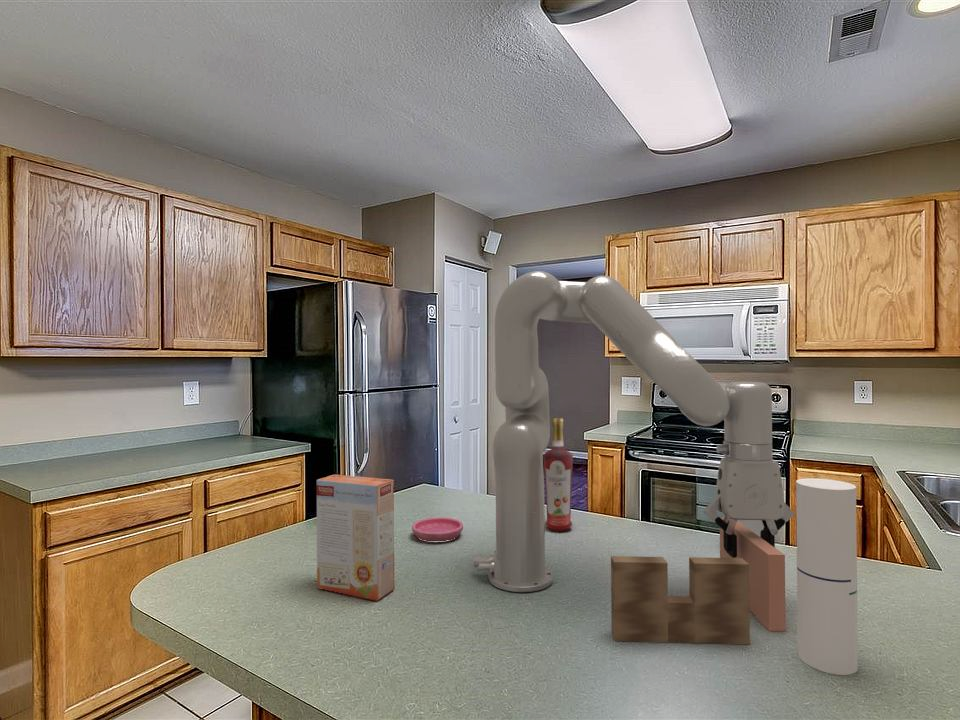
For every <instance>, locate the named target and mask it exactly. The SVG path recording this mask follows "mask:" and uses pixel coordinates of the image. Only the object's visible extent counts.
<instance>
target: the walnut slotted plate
mask: <svg viewBox="0 0 960 720" xmlns="http://www.w3.org/2000/svg"><path fill="white" fill-rule="evenodd" d="M688 566H689V567H688V569H689V570H688V571H689V572H688V575H689V576H688V579H689V580H688V581H689V582H688V585H689V587H688V588H689V589H688V591H689V594H688V595H669V594H668V593H669V591H668V590H669V588H668V579H669V578H668V569H669V568H668V562H667V560H666V559H665V558H664V556H631V555H630V556H628V555H627V556H624V555H622V556H621V555H611V556H610V593H611V594H610V597H611V598H610V599H611V601H610V602H611V604H610V606H611V607H610V608H611V609H610V611H611V614H610V616H611V618H610V620H611V635H612V638H613V640H614V642H638V643H639V642H640V643H641V642H642V643H645V642H646V643H673V644H674V643H675V644H676V643H678V644H680V643H681V644H683V643H684V644H716V645H717V644H718V645H750V644H751V629H750V628H751V627H750V626H751V622H750V621H751V620H750V619H751V618H750V617H751V615H750V612H751V611H750V599H749V564H748V563H747V562H746V561H745V560H744V559H742V558H720V557H696V556H695V557H693V556H691V557H690V556H689V558H688Z"/></svg>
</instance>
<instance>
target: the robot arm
mask: <svg viewBox="0 0 960 720" xmlns="http://www.w3.org/2000/svg"><path fill="white" fill-rule="evenodd" d="M540 320H542V321H543V320H545V321H554V322H555V321H556V322H569V323H581V324H582V323H585V324H594V325H595V326H596V328H597V329H599V330H600V332H602V334H604V336H605V337H607V338H608V340H609V341H610V342H611V343H612V344H613V345H614V346H615V347H616V348H617V349H618V350H619V351H620V353H621V354H622V355H623V356H624V357H626V359H627V360H628V361H630V363H631V364H632V365H633V366H634V367H635V368H637V369H638V370H640V371H641V372H643V373H644V374H645V375H646V376H647V377H648V378H649V379H650V380H651V381H652V382H653V383H655V385H656V386H657V387H658V388H659V389H660V390H661V391H662V392H663V393H664V394H665V395H666V396H667V397H668V398H669V399H670V400H671V401H672V402H673V403H674V404H675V406H677V407H678V409H679V410H680V412H681V413H682V414H683V415H684V416H685V417H686V418H687V419H688V420H689V421H691V422H692V423H694V424H696V425H699V426H703V427H711V426H712V427H713V426H714V425H718V424H719V423H721V422H722V421H723V422H724V423H723V424H724V425H723V433H724V434H723V436H724V437H723V439H724V440H722V441H723V442H722V444H721V445H716V452H717V454H723V456H724V457H721V458H720V463H719V467H718V472H717V478H716V490H715V491H716V493H715V497H714V498H713V499H712V501H710V503H709V504H708V505H707V506H706V507H705V508H704V510H703V513H704V514H705V515H706V516H707V517H709V519H711V521H713V522H714V523H715V524H716V525H717V526H718V528H719V529H720V528H721V529H722V530H723V538H724V549H725V551H726V552H727V553H728V554H729V555H730V556H731V557H732V558H736V557H737V536H736V535H735V534H734V529H735V526H736V523H737V520H761V522H762V525H763V527H764V528H763V530H761V532H760V537H761V538H762V539H763V540H765V541H766V542H768V543H769V544H770V545H772V546H773V547H775V548H776V543H775V542H776V539H775V536H777V535H778V533H779V530H781V529H782V527H784V526H785V525H786V523H787V522H789V521H790V520H791V519H792V518H793V517H795V512H794V511H793V510H792V509H791V508H790V506H789V505H788V504H786V502H785V498H784V497H785V496H784V487H783V481H782V475H781V471H780V466H779V465H780V464H779V462H778V460H774V459H773V404H772V403H773V399H772V398H773V396H772V388H771V386H769V384H767V382H761V381H733V382H729V383H728V382H718V381H717V380H716V379H715V378H714V377H713V376H712V375H711V374H710V373H709V372H708V371H707V370H706V369H705V368H704V367H703V366H702V365H701V364H700V363H699V361H697V359H695V358H694V357H693V356H692V355H691V354H690V353H689V352H688V351H687V350H686V349H685V348H683V346H682V345H681V344H680V343H678V341H677V340H676V339H675V338H674V336H673V335H671V334H670V333H669V332H668V331H667V330H666V329H665V328H664V327H663V325H661V323H659V322H658V320H656V319H655V318H654V317H653V316H652V314H650V312H648V311H647V310H646V308H644V306H643V305H642V304H640V302H638V300H637V299H636V298H635V297H634V296H633V295H632V294H631V293H630V292H629V291H628V290H627V289H626V288H625V287H624V286H623V285H622V284H621V283H620V282H619V281H617V280H616V278H613V277H612V276H609V275H597V276H594V277H592V278H590V279H588V280H587V281H572V280H571V281H570V280H569V281H568V280H559V279H557V278H556V277H555V276H554V275H553V274H551V273H550V272H546V271H543V270H535V271H530V272H526V273H525V274H522V275H520V276H518V277H517V278H515V279H514V280H513V281H511V282H510V284H509V285H507V287H506V288H505V289H504V291H503V292H502V293H501V295H500V298H499V299H498V302H497V304H496V309H495V315H494V364H495V365H494V370H495V371H494V372H495V373H494V374H495V382H494V383H495V386H494V387H495V388H494V389H495V394H496V398H497V400H498V402H499V403H500V404H501V405H502V406H503V407H504V412H505V421H504V422H502V424H501V425H500V426H499V427H498V428H497V430H496V432H495V435H494V436H493V441H492V459H493V466H494V467H493V468H494V479H495V481H494V482H495V551H494V554H493V555H492V554H491V555H489V556H481V555H480V556H478V555H477V556H475V555H474V556H473V567H477V568H478V571H488V582H489V583H490V584H491V585H493V586H494V587H496V588H497V589H500V590H504V591H507V592H514V593H532V592H538V591H542V590H545V589H546V588H548V587H550V586H551V585H552V583H553V582H554V574H553V573H554V572H553V571H552V570H551V569H550V568H548V567H547V566H546V540H545V539H546V524H545V522H546V520H545V519H546V517H545V516H546V515H545V511H546V509H545V503H546V501H545V472H544V453H545V451H546V449H547V447H548V446H549V443H550V438H551V419H550V394H549V393H550V392H549V383H548V379H547V376H546V374H545V372H544V370H542V368H540V367H539V366H540V365H539V364H540V363H539V362H540V361H539V337H538V323H539V321H540ZM717 512H720V513H722V515H723V514H724V517H723V516H722V517H720V515H718V514H717ZM721 518H723V519H721Z"/></svg>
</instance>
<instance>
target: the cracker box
mask: <svg viewBox="0 0 960 720" xmlns="http://www.w3.org/2000/svg"><path fill="white" fill-rule="evenodd" d="M394 484H395V483H394V479H391V478H389V479H388V478H379V477H378V478H377V477H370V476H369V477H367V476H357V475H347V474H332V475H328V476H326V477H321V478H318V479H316V588H317V587H318V588H322V589H325V590H324V591H327V590H329V592H332V591H334V593H336V592H339V593H338V594H341V593H343V594H342V595H346V594H349V595H348V596H351V595H353V596H352V597H356V596H357V597H356V598H362V599H367V600H371V601H375V602H377V601H379V600H381V599H382V598H384V597H385V596H386V595H388V594H390V593H391V592H392V591H395V504H394V503H395V502H394V501H395V498H394V491H395V489H394V487H395V486H394ZM318 588H317V589H318ZM322 589H321V590H322Z"/></svg>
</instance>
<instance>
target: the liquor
mask: <svg viewBox="0 0 960 720" xmlns="http://www.w3.org/2000/svg"><path fill="white" fill-rule="evenodd" d="M552 429H553V434H552V446H551V447H552V448H551V449H549V450H547V451H546V452H544V453H543V472H544V487H545V499H546V501H545V503H546V520H545V527H547V528H548V530H550V531H552V530H553V531H552V532H556V531H557V533H558V532H559V533H560V532H562V531H563V532H566V531H568V530H569V529H570V528H571V527H572V526H573V523H572V521H571V520H572V519H571V514H572V513H571V511H572V510H571V509H572V483H573V457H574V455H573V453H571V452H570V451H568V450H566V449H565V444H564V435H563V430H564V418H562V417H560V418H557V417H556V418H552Z"/></svg>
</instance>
